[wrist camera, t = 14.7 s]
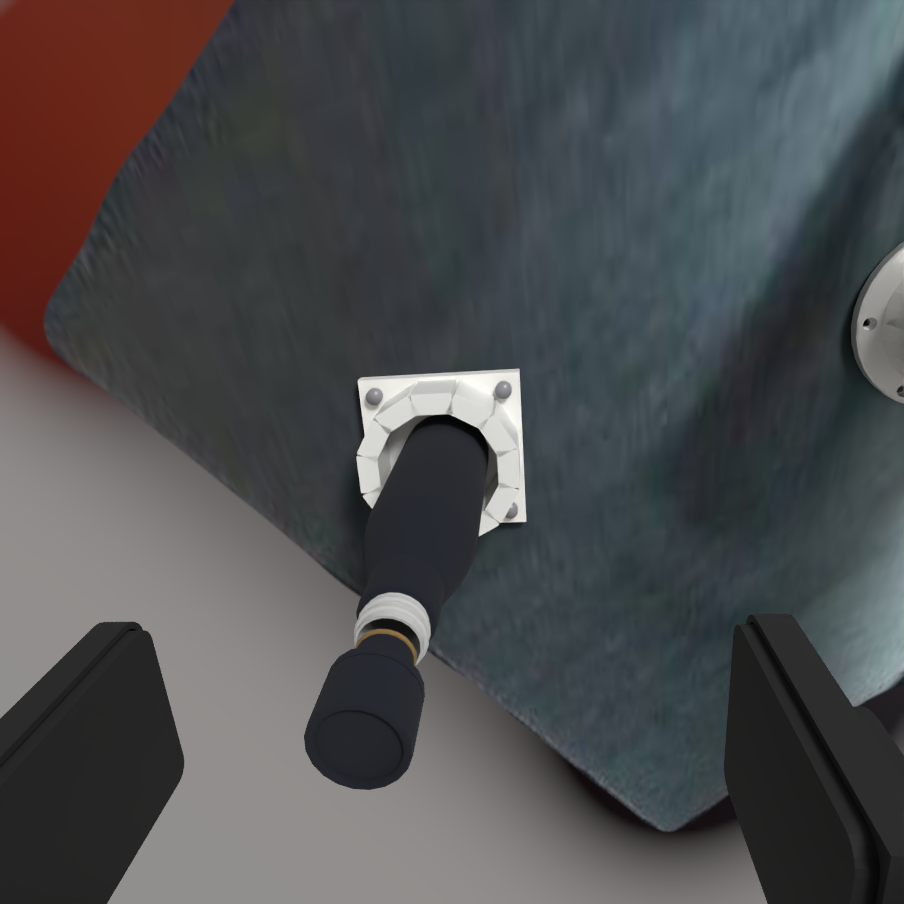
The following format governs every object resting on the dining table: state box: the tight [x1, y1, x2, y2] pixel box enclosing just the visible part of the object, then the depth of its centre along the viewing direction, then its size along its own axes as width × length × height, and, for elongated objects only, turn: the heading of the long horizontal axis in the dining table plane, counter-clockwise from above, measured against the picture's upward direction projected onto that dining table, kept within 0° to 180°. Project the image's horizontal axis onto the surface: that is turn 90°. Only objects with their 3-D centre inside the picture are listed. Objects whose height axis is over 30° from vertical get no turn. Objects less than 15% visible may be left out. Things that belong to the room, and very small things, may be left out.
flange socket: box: [356, 369, 526, 536], centre depth 50 cm, size 12×12×5 cm
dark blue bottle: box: [304, 414, 489, 790], centre depth 37 cm, size 6×6×30 cm
